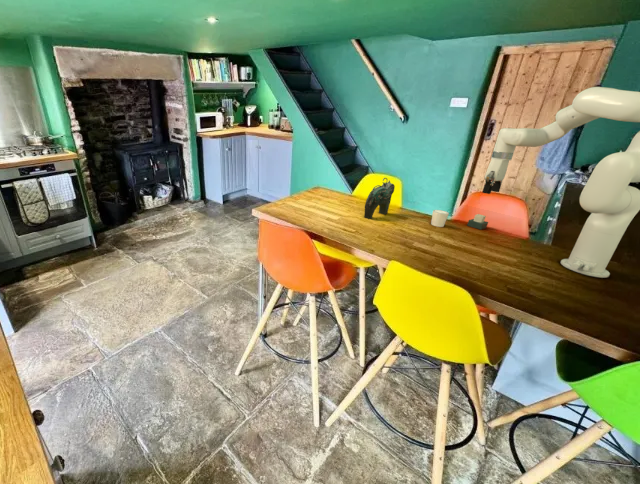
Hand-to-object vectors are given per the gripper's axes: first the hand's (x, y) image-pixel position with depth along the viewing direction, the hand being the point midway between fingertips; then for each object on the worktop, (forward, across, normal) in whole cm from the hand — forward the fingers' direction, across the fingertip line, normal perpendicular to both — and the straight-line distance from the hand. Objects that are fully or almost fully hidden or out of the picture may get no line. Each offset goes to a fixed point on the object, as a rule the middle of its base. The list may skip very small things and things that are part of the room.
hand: (490, 192), depth 144 cm
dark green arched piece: (+18, +35, -35) cm, 52 cm away
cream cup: (+18, +18, -12) cm, 28 cm away
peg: (+18, 0, -1) cm, 18 cm away
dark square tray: (+18, 0, -1) cm, 18 cm away
